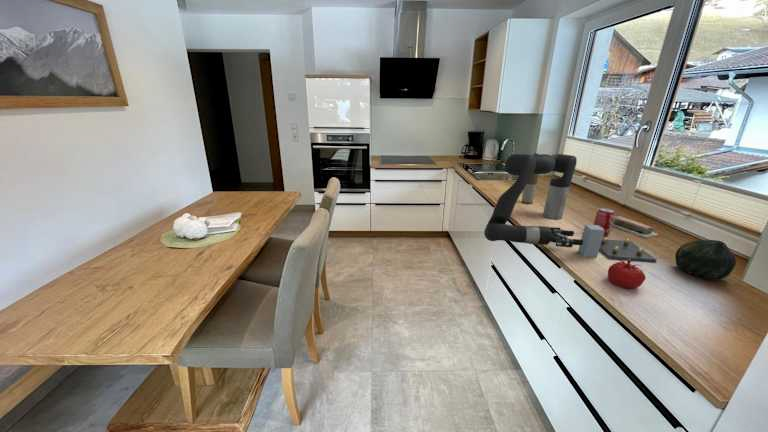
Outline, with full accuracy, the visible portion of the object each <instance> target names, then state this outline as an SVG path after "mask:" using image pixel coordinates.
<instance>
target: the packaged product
mask: <svg viewBox="0 0 768 432" xmlns="http://www.w3.org/2000/svg"><path fill="white" fill-rule="evenodd" d="M612 227H613V228H615V229H617V230H620V231H622V232H623V231H624V232H626V233H628V234H632V235H634V236H637V237H639V238H643V239H648V238H653V237H654V238H655V237H657V236H659V233H657V232H656V233H655V232H654V231H653V230H655V228H654V227H652V226H650V225H647V224H645V223H641V222H639V221H635V220H632V219H629V218H626V217H624V216H621V215H617V216H616V215H615V218H614V221H613V225H612Z"/></svg>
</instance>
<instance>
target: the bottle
mask: <svg viewBox="0 0 768 432" xmlns="http://www.w3.org/2000/svg"><path fill="white" fill-rule="evenodd" d="M538 154H539V153H536V152H535V153H533V154H532V155H538ZM539 176H540V174H532V176H531V178H530V179H529V181H528V183H527V184H526V186H525V188H524V189H523V191H522V196H521V203H523V204H525V203H526V205H530V204H531V205H532V204H533V203H534V199H535V193H536V189H537V185H538V182H539V181H538V180H539Z"/></svg>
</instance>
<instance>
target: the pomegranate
mask: <svg viewBox="0 0 768 432" xmlns="http://www.w3.org/2000/svg"><path fill="white" fill-rule="evenodd" d="M626 261H627V262H625V260H618V262H615V263H613V264H612V265H610V266H609V267H608V270H607V279H608V280H609V282H611V283H613V284H614V285H616V286H620V287H622V288H624V289H636V288H638V287H641V286H642V285H643V283H644V282H645V280H646V279H647V278H646V275H645V273H644V271H643V270H642V269H641V268H639V267H641V264H631V262H632V261H631V260H630V259H627V260H626ZM637 266H638V267H637Z"/></svg>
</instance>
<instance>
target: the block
mask: <svg viewBox="0 0 768 432" xmlns="http://www.w3.org/2000/svg"><path fill="white" fill-rule="evenodd" d="M604 232H605V230H604V229H603V228H601V227H600V226H599V225H594V224H584V228H583V231H582V235H581V237H580V239H581V240H583V245H578V249H577V252H578V253H579V252H580V253H581V254H582V255H583V256H585V257H584V258H597V257H598V255H599V249H600V245H601V242H602V238H603V237H604V236H603V235H604ZM580 253H579V254H580ZM582 255H581V256H582ZM583 256H582V257H583Z"/></svg>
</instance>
